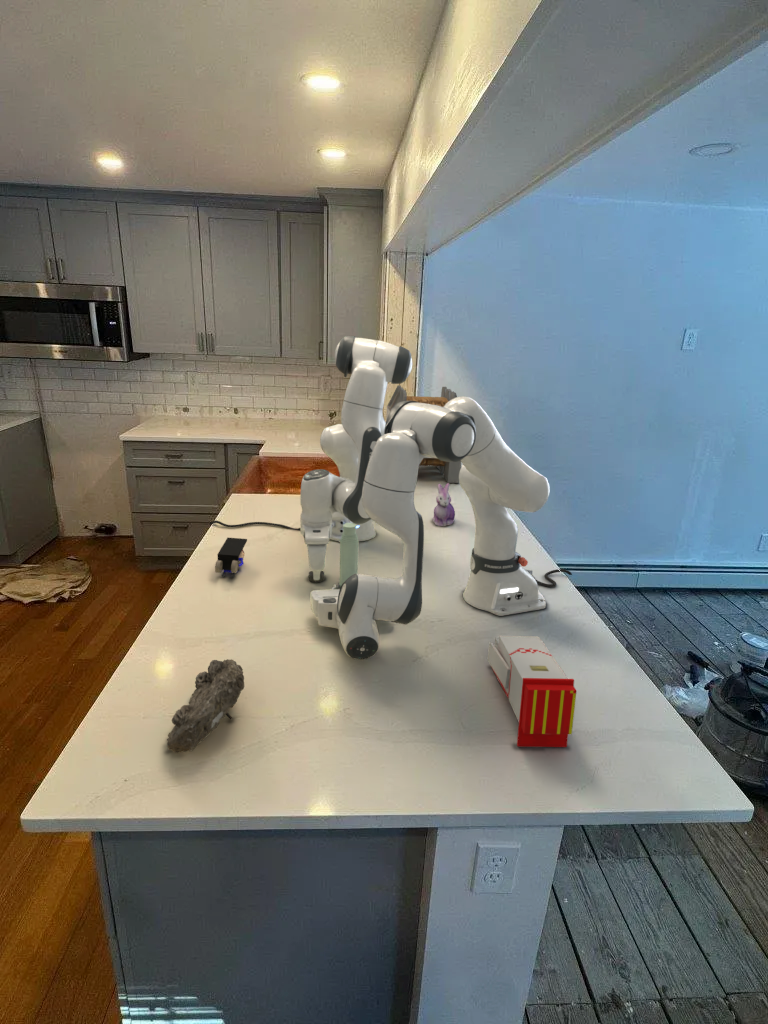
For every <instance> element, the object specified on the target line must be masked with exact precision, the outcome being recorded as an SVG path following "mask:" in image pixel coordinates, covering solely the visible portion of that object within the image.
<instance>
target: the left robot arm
mask: <svg viewBox="0 0 768 1024" xmlns="http://www.w3.org/2000/svg"><path fill="white" fill-rule="evenodd" d="M334 361H335V366H336V368H337V369H338V371H339V372H340V373H341V374H343V377H344V378H347V377H348V375H350V377H349V380H348V383H347V385H346V389H345V392H344V397H343V402H342V406H341V412H340V422H341V423H337V424H334V425H330V426H326V427H325V428H324V429H323V430H322V432H321V434H320V436H319V437H320V438H319V445H320V448H321V450H322V452H323V453H324V454H325V455H326V456H327V457H328V458H330V459H331V460H332V462H334V464H335V465H336V467H337V470H338V473H339V476H338V475H336V474H333V473H332V472H330V471H329V470H328V469H323V468H320V469H311V470H310V471H308V472H306V473H304V475H303V477H302V479H301V484H300V493H299V497H300V498H299V504H300V507H301V513H300V527H298V528H294V527H290V526H288V525H285V524H281V523H274V522H266V521H251V522H244V523H239V524H227V523H224V522H222V521H219V520H212V521H210V523H209V525H210V526H211V525H214V524H219V525H221V526H223V527H226V528H240V527H245V526H252V525H264V526H265V525H266V526H273V527H278V528H279V527H280V528H284V529H287V530H293V531H300V535H301V536H302V537H303V540H304V544H305V545H306V547H307V555H308V556H307V557H308V564H309V570H310V571H313V579H314V580H320V571H323V572H324V569H325V565H326V557H327V547H328V545H329V544H330V541H336V542H339V543H340V539H341V536H342V533H343V525H344V524H345V523H354V524H356V533H357V537H358V540H359V542H365V541H368V540H372V539H373V538H375V537H376V535H377V532H376V528H375V522H374V521H373V520H372V519H371V518H370V517H369V516H368V515H367V514H366V512H365V510H364V508H363V505H362V490H363V484H364V479H365V474H366V470H367V467H368V463H369V460H370V457H371V454H372V451H373V449H374V446H375V444H376V442H377V440H378V439H379V438H380V437H381V436H382V435H384V429H385V424H386V419H385V418H384V405H385V400H386V394H387V389H388V383H391V384H393V385H400V384H403V383H405V382H406V380H407V379H408V377H409V376H410V374H411V373H412V369H413V358H412V353H411V351H410V350H409V349H408V348H405V347H404V346H401V345H400V346H397V345H395V344H393V343H389V342H387V341H383V340H379V339H378V340H377V339H371V338H365V337H356V336H355V335H344V336H343V337H342V338H341V339H340V340H339V342H338V344H337V345H336V347H335V351H334Z"/></svg>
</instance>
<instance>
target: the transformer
mask: <svg viewBox="0 0 768 1024" xmlns="http://www.w3.org/2000/svg"><path fill="white" fill-rule="evenodd" d="M440 393H441V394H440V396H415V395H414V396H413V395H412V396H411V395H407V394H408V393H407V390H406V389H404V388H403V387H402V385H400V384H397V386H396V388H395V390H394V392H393V394H392V395H391V398H390V400H389V402H388V404H387V405H386V413H385V414H386V415H385V421H386V420H387V417H388V415H389V413H390V411H391V410H392V408H393V407H394V406H395V405H396V404H397V403H399V402H403V401H417V402H419V403H426V404H431V405H438V406H441V407H444V406H445V404H446V403H447V402H449V401H450V400H452V399H454V398H456V397H458V395H457V392H455V391H453V390H452V389H451V388H447V386H442V387H441V392H440ZM422 456H424V458H423V460H422V461H421V463H420V464H419V467H436V468H437V470H438V469H439V473H440V474H441V475H443V478H444V479H445V481H446V482H447V483H449V484H455V483H456V484H460V483H459V472H460V469H461V467H462V462H461V461H458V462H446V461H441V460H439V459H437V458H432V457H428V456H425V455H422Z"/></svg>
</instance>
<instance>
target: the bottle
mask: <svg viewBox="0 0 768 1024" xmlns="http://www.w3.org/2000/svg"><path fill="white" fill-rule="evenodd" d="M359 542H360V541H359V540H358V537H357V533H356V524H354V523H345V524H344V525H343V533H342V536H341V539H340V542H339V579H338V580H339V582H338V584H339V585H340V588H341V585H342V584H343V583H344V582H345V581H346V580H347V579H348V578H349V577H350V576H351V575H353V574H355V573H356V574H359V572H358V571H359Z"/></svg>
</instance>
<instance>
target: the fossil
mask: <svg viewBox="0 0 768 1024" xmlns="http://www.w3.org/2000/svg"><path fill="white" fill-rule="evenodd" d="M243 670H244V669H243V667H242V665H240V664H237V662H236V661H235V660H234V659H232V658H231V659H227V658H226V659H224V660H223V661H222V660H217V659H212V660H211V661H210V663H209V665H208V666H207V671H201V672H199V673H198V674H197V675H196V676H195V680H194V684H195V685H194V687H195V689H194V690H193V693H192V694H191V697H190V698H189V700H188V704H184V705H182V706H181V707H180V709H177V710H176V711H175V713H174V715H173V716H172V718H171V723H172V724H173V727H172V730H171V731H170V732H168V734H167V738H166V741H167V742H166V745H167V749H168V750H169V751H173V752H174V753H176V754H178V753H182V752H188V751H189V752H192V751H193V750H195V748H196V747H197V746H199V744H200V743H201V742H203V741H204V740H205V739H206V738H207V737H208V736H209V735H210V734H211V733H212V732H214V730H215V729H217V727H218V726H219V724H220V722H221V721H222V720H223V719H224V718H225V716H226V717H227V719H229V720H233V717H232V715H230V714H229V710H230V709H231V708H234V706H235V704H236V703H237V702H238V699H239V697H240V695H241V693H242V691H243V690H245V689H244V688H245V675H244V671H243Z"/></svg>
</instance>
